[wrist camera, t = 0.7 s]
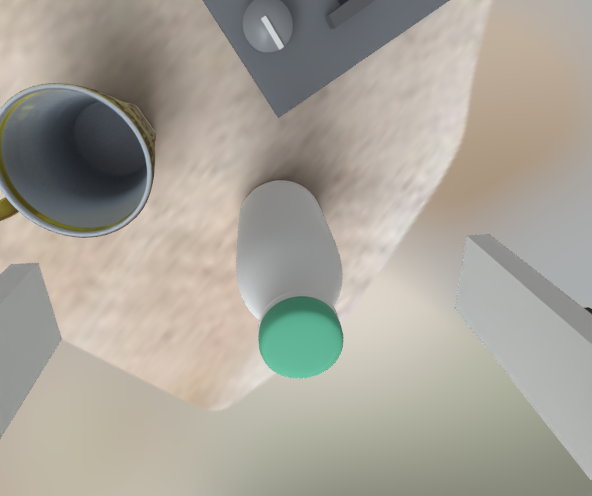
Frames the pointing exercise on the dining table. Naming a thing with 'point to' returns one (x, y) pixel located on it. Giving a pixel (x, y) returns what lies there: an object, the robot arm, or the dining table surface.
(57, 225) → the ceramic cup
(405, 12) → the console
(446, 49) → the dining table surface
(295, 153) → the dining table surface
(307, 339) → the milk bottle
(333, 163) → the dining table surface
